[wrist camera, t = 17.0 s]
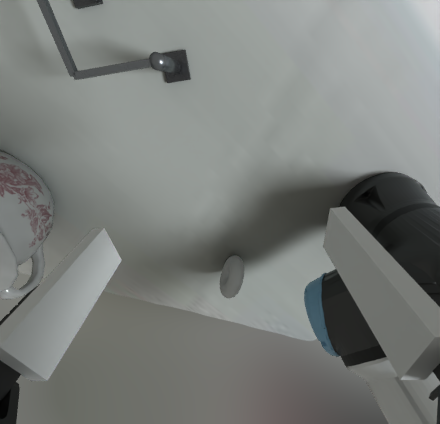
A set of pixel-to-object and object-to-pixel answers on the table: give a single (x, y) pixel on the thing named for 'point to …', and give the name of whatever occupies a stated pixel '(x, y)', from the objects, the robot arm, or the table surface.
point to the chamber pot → (22, 224)
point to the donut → (232, 276)
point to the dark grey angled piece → (167, 62)
